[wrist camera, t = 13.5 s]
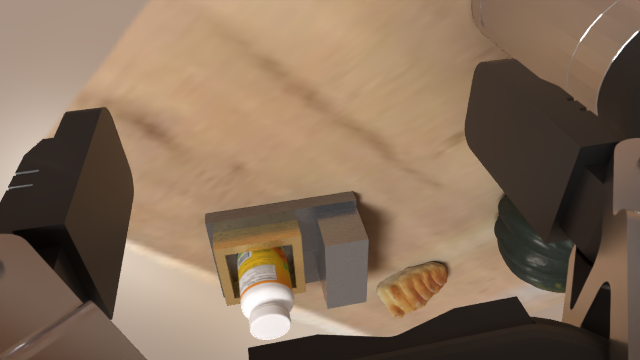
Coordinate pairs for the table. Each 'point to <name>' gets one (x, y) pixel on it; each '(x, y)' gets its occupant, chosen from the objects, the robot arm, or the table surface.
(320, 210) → the grey and tan tray
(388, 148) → the table surface
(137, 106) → the table surface
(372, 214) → the table surface
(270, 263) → the supplement bottle
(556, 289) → the squash
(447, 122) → the table surface
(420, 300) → the pastry
